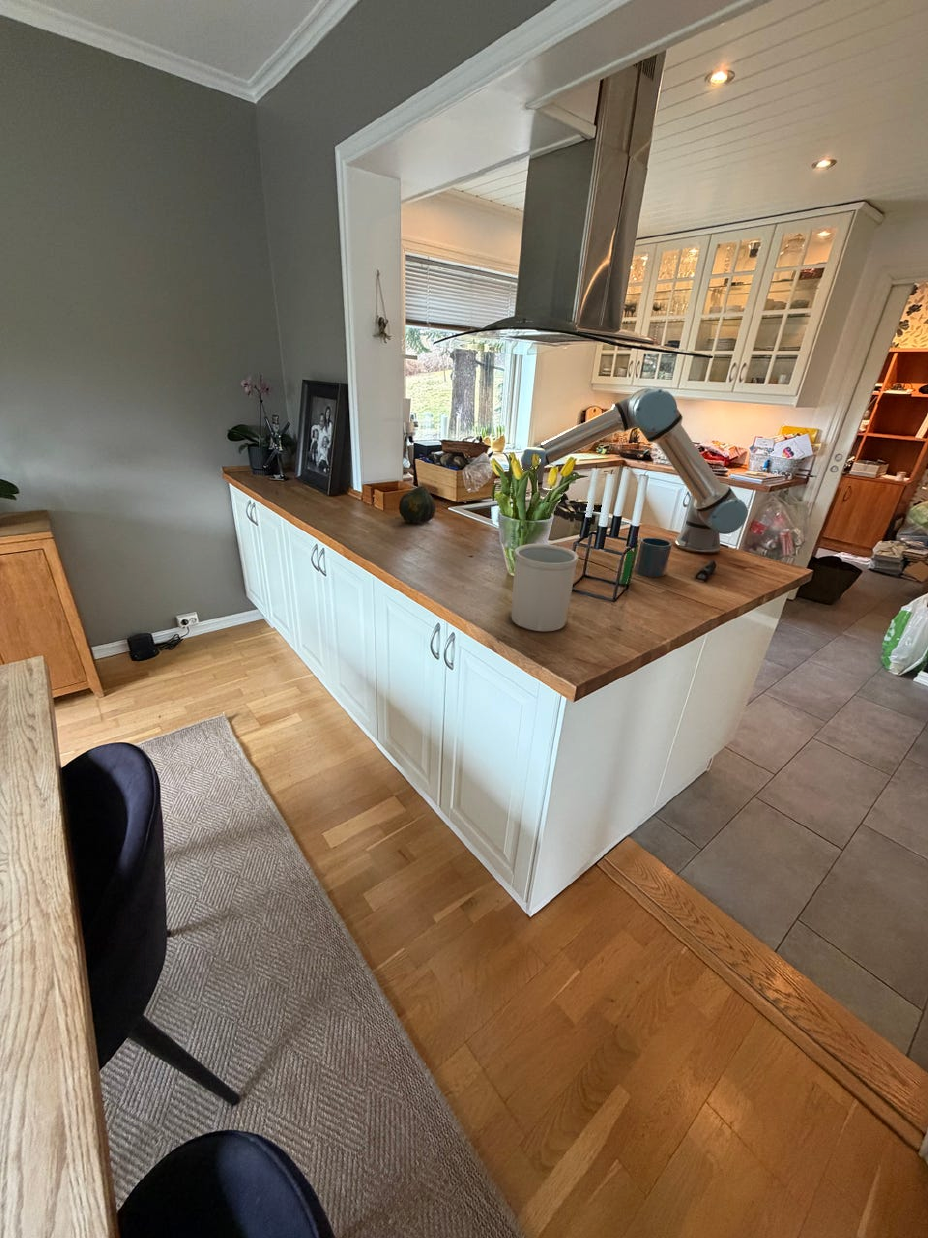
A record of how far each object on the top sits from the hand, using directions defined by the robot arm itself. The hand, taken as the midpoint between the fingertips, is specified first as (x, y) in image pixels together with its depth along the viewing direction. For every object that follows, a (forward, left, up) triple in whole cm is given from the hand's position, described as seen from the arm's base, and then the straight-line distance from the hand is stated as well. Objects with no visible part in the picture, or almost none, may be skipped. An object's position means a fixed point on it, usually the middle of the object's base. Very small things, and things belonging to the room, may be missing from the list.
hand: (608, 516), depth 144 cm
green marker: (-8, +5, -18) cm, 20 cm away
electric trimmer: (-33, -13, -18) cm, 40 cm away
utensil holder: (+12, +40, -18) cm, 45 cm away
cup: (-15, -8, -18) cm, 25 cm away
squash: (+76, -31, -18) cm, 84 cm away
